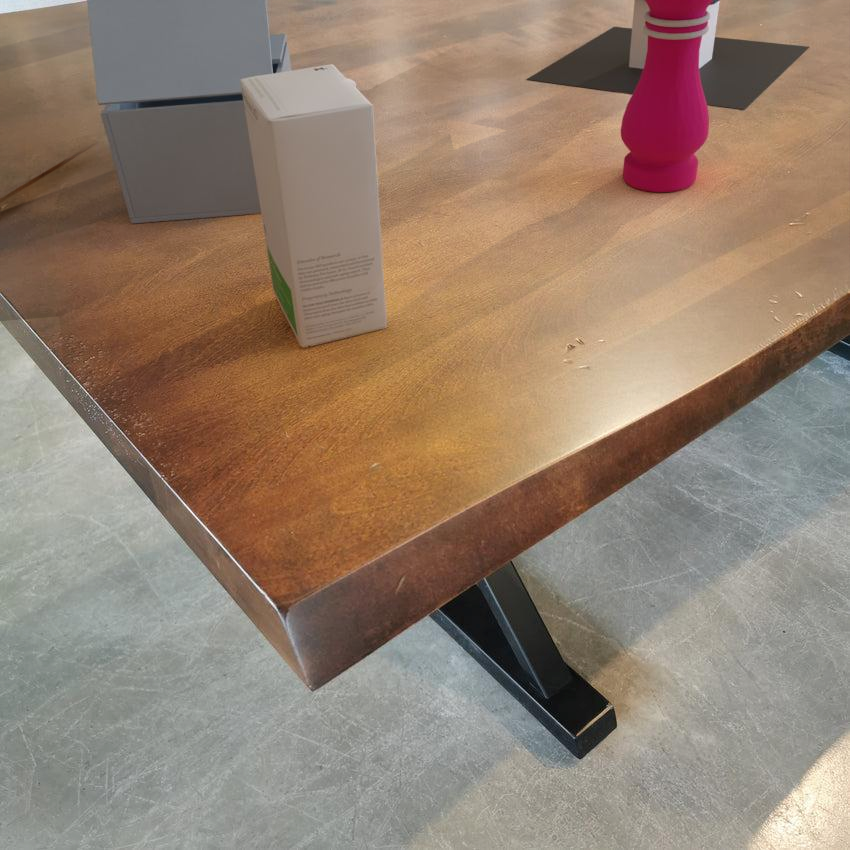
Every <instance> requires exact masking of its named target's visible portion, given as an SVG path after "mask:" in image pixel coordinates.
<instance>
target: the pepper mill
mask: <svg viewBox="0 0 850 850" xmlns="http://www.w3.org/2000/svg"><path fill="white" fill-rule="evenodd" d="M645 1H646V3H647V4H648V6H649V9H650V10H649V11H648V12H646V13H645V16H644V18H645V20H646V21H645V25H644V27H643V31H644V33H645V34H647V35H648V46H647V55H646V60H645V66H644V69H643V72H642V75H641V78H640V80H639V82H638V85H637V87H636V89H635V91H634V93H633V94H631V97H630V99H629V100H628V103H627V104H626V107H625V110H624V113H623V116H622V118H621V119H622V120H621V125H620V138H621V141H622V142H623V144H624V146H625V147H626V148H627V149H628V150H629V152H628V153H627V154H626V155H625V156H624V158H623V167H622V179H623V181H624V182H625V183H626V184H627V185H628V186H630V187H633V188H634V189H637V190H640V191H646V192H651V193H672V192H677V191H683V190H685V189H687V188H690V187H691V186H692V185H693V184H694V183H695V182H696V180H697V174H698V169H699V168H698V167H699V159H698V157H697V156H696V155H695V153H696V152H698V150H700V149H701V148H702V147H703V146H704V144H705V142H707V140H708V137H709V131H710V130H709V129H710V115H709V108H708V106H709V105H707V103H706V99H705V96H704V92H703V89H702V84H701V80H700V73H699V50H700V45H701V40H702V35H704V34H706V33H707V32H708V30H709V27H708V20H709V19H710V13H709V12H708V11H706V9H707V7H708V6H709V5H710V4H711V2H712V1H713V0H645Z"/></svg>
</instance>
